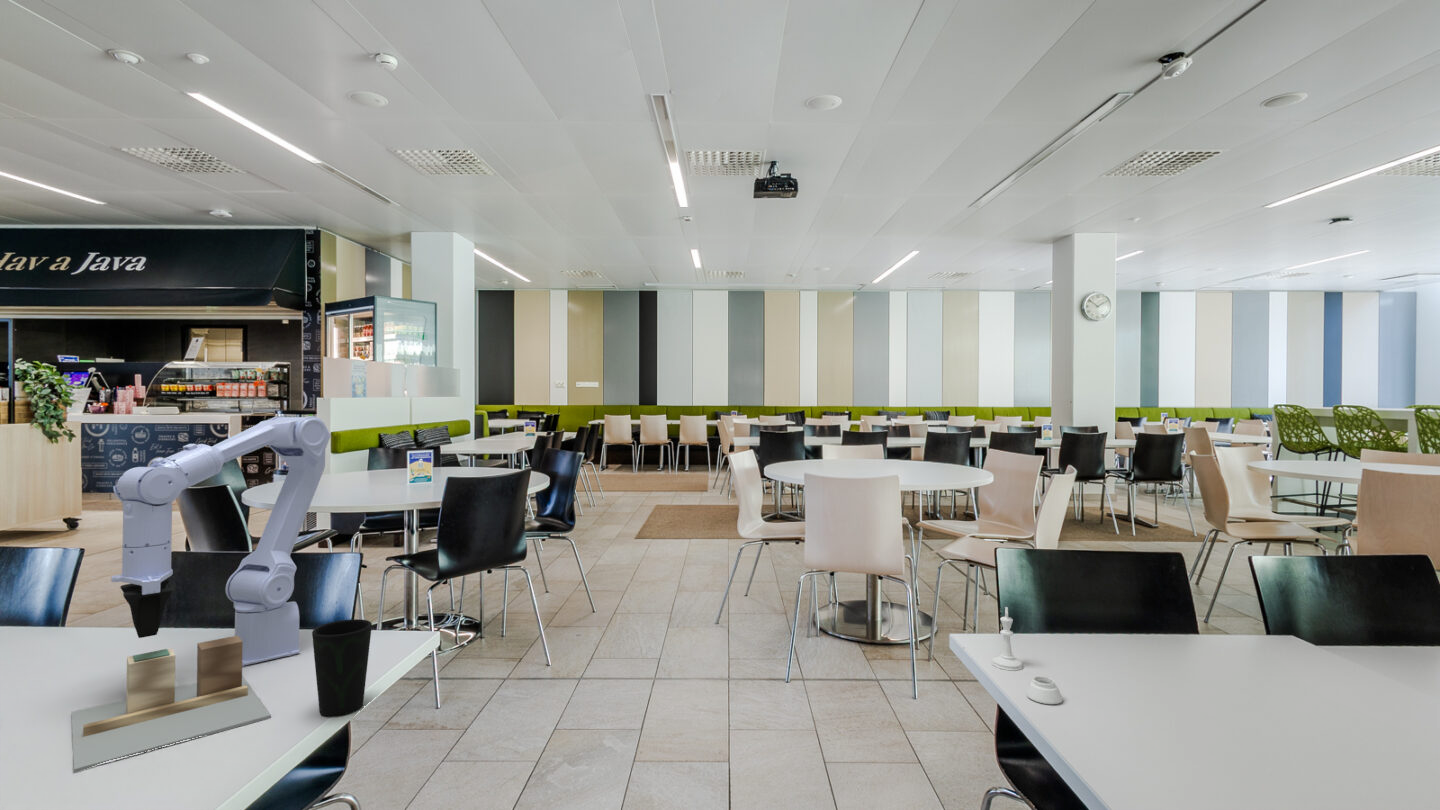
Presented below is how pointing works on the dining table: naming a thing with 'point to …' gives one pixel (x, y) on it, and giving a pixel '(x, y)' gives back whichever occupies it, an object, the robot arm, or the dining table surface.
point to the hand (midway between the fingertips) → (145, 632)
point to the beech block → (150, 680)
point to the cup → (341, 665)
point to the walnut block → (219, 665)
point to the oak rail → (163, 711)
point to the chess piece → (1006, 648)
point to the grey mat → (159, 726)
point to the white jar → (1044, 691)
